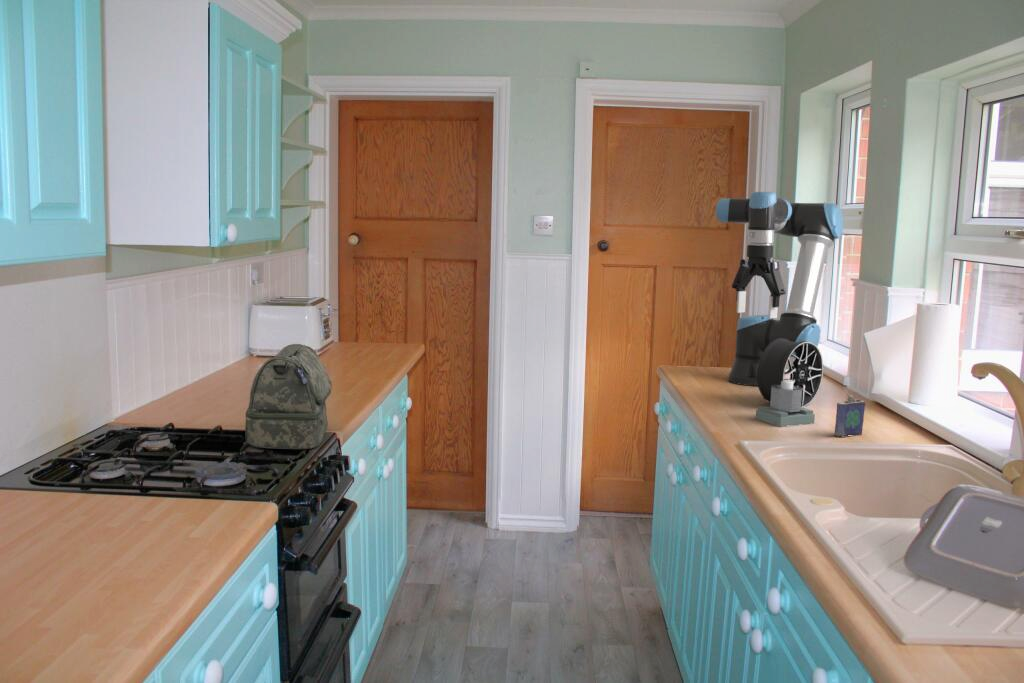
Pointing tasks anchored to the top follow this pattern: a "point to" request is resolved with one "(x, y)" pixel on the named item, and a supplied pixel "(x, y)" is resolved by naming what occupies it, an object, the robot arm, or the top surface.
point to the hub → (786, 398)
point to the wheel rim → (791, 368)
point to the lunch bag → (289, 401)
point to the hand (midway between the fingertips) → (756, 315)
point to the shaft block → (785, 413)
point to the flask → (849, 417)
